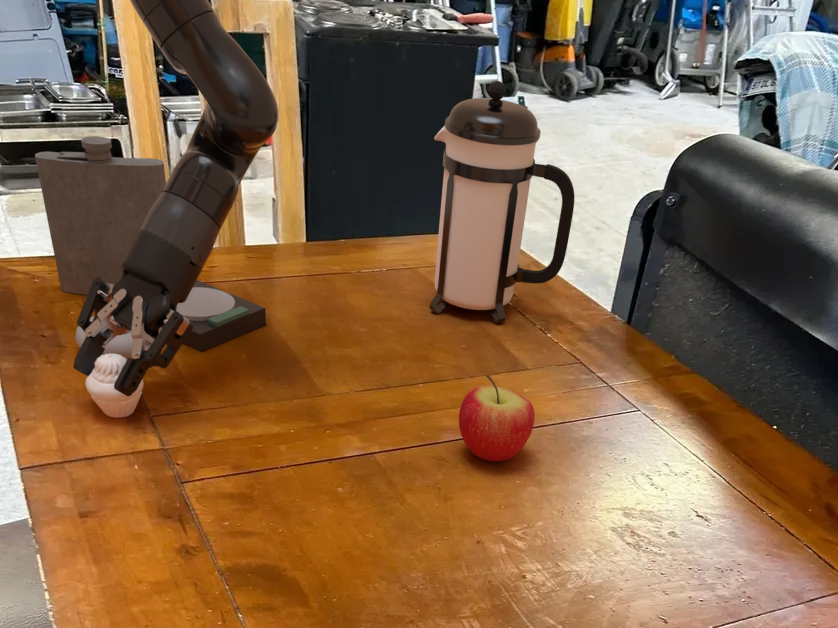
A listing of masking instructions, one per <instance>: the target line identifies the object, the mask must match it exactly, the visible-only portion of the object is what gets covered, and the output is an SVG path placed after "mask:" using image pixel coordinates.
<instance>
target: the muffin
mask: <svg viewBox="0 0 838 628" xmlns="http://www.w3.org/2000/svg"><path fill="white" fill-rule="evenodd" d="M126 361H127V359H126V358H124V357H123V356H121V355H119V354H115V353H113V354H111V353H109V354H105V355H101V356H100V357H98V358H97V360H96V362H95V363H94V365H95V368H94V369H93V370H92V373H91V374H90V375H89V376H86V379H85V382H84V383H85V389H86V391H87V392H88V394H89V395H90V398H91V399H92V400H93V402H94V403H95V404H96V405H97V406H98V407H99V409H100V410H101V411H102V412H103V414H105V415H106V416H107V417H109V418H114V419H119V418H120V419H121V418H127V417H129V416H131V415H133V414H134V412H135V409H136V408H137V405H138V404H139V401H140V399H141V396H142V394H143V392H142V391H143V389H144V378H143V379H142V381H141V383H140V384H139V387H138V388H137V390H136V391H135V392H134V393H132V395H131V396H126V395H124V394H122V393H121V392H119V391H117V390H115V389H114V384H115V382H116V380H117V378H118V376H119V374H120V372H121V370H122V368H123V367H124V365H125V363H126Z"/></svg>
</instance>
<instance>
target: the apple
mask: <svg viewBox="0 0 838 628" xmlns="http://www.w3.org/2000/svg"><path fill="white" fill-rule="evenodd" d="M485 376H486V378H487V379H488V381H490V382H491V384H492V385H490V384H489V385H488V384H486V385H479V386H476V387H474V388H472V389H471V390H470V391H469V392H468V393H467V394H466V395H465V397H464V398H463V400H462V402H461V404H460V408H459V413H458V428H459V431H460V436H461V438H462V440H463V443H464V444H465V446H466V447H467V448H468V450H469V451H470V452H471V453H472V454H473V455H475V456H476V457H478V459H479V458H480V459H481V460H484V461H487V462H505V461H507V460H510V459H512V458H513V457H515V456H516V455H517V454H518V453H519V452H520V451H521V450H522V449H523V448H524V447H525V445H526V443H527V442H528V441H529V439H530V436H531V434H532V431H533V428H534V425H535V415H536V414H535V408H534V406H533V404H532V403H531V401H530V400H528V399H527V398H526V397H525V396H523V395H521V394H519V393H517V392H515V391H513V390H511V389H508V388H506V387H501V386H497V385H496V383H495V382H494V380H493V378H492V377H491V376H490V375H489V373H486V375H485Z"/></svg>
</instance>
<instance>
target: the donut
mask: <svg viewBox="0 0 838 628" xmlns="http://www.w3.org/2000/svg"><path fill="white" fill-rule="evenodd" d="M94 316H95V315H93V316H91V318H90V321H91V322H92V321H93V319H94ZM111 319H113V320H114V318H113V316H112V317H111ZM106 329H107V327H105V328H103V329H102V330H101V331H102V333H103V332H104V331H105V330H106ZM85 337H86V335H85V332H84V331H83V329H82V328H81V327H79V326H77V328H76V330H75V337H74V340H75V343H76V345H77V347H78V349H80V348H81V346H82V344H83V342H84V340H85ZM132 346H133V338H132V337H131V331H130V330H127V331H126V332H125V333H124V334H123V335H117V336H115V337H114V338H113V339H112V340H111V341H110V342H109V343H108V344H107V345H105V346H102V347H104V348H105V350H104V352H103V354H102V355H105V354H109V353H111V354H113V353H115V354H119V355H121V356H123V357H124V358H126V359H128V357H129V358H131V359H132ZM144 350H145V347H144Z"/></svg>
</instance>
